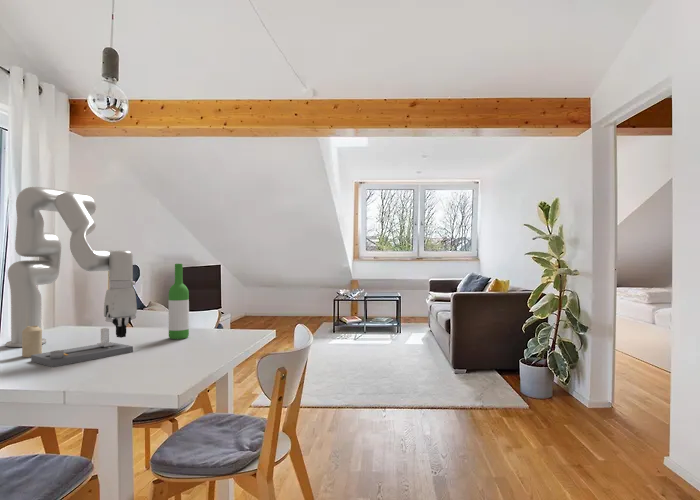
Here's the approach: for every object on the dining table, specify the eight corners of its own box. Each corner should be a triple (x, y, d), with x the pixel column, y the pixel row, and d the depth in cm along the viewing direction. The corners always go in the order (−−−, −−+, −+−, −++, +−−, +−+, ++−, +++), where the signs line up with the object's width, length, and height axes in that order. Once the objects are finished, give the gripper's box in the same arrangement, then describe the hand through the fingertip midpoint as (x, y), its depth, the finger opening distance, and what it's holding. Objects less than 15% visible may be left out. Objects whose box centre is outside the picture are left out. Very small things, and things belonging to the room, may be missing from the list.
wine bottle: (177, 340, 187) (177, 264, 188) (164, 338, 191) (164, 263, 192) (193, 337, 194) (192, 263, 194) (180, 335, 198) (180, 263, 198)
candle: (32, 357, 157) (32, 327, 157) (18, 357, 158) (18, 327, 158) (45, 354, 162) (45, 324, 162) (32, 353, 163) (32, 324, 163)
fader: (97, 345, 165) (97, 328, 165) (105, 344, 167) (105, 327, 167) (104, 346, 162) (104, 329, 162) (112, 345, 165) (112, 328, 165)
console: (31, 361, 152) (31, 348, 152) (110, 347, 173) (110, 336, 173) (52, 367, 144) (52, 353, 144) (132, 352, 166) (132, 340, 166)
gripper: (134, 283, 178) (134, 333, 178) (94, 286, 165) (94, 339, 165) (146, 284, 174) (146, 334, 174) (106, 287, 161) (106, 341, 161)
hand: (121, 336), depth 169 cm, fingers closed
